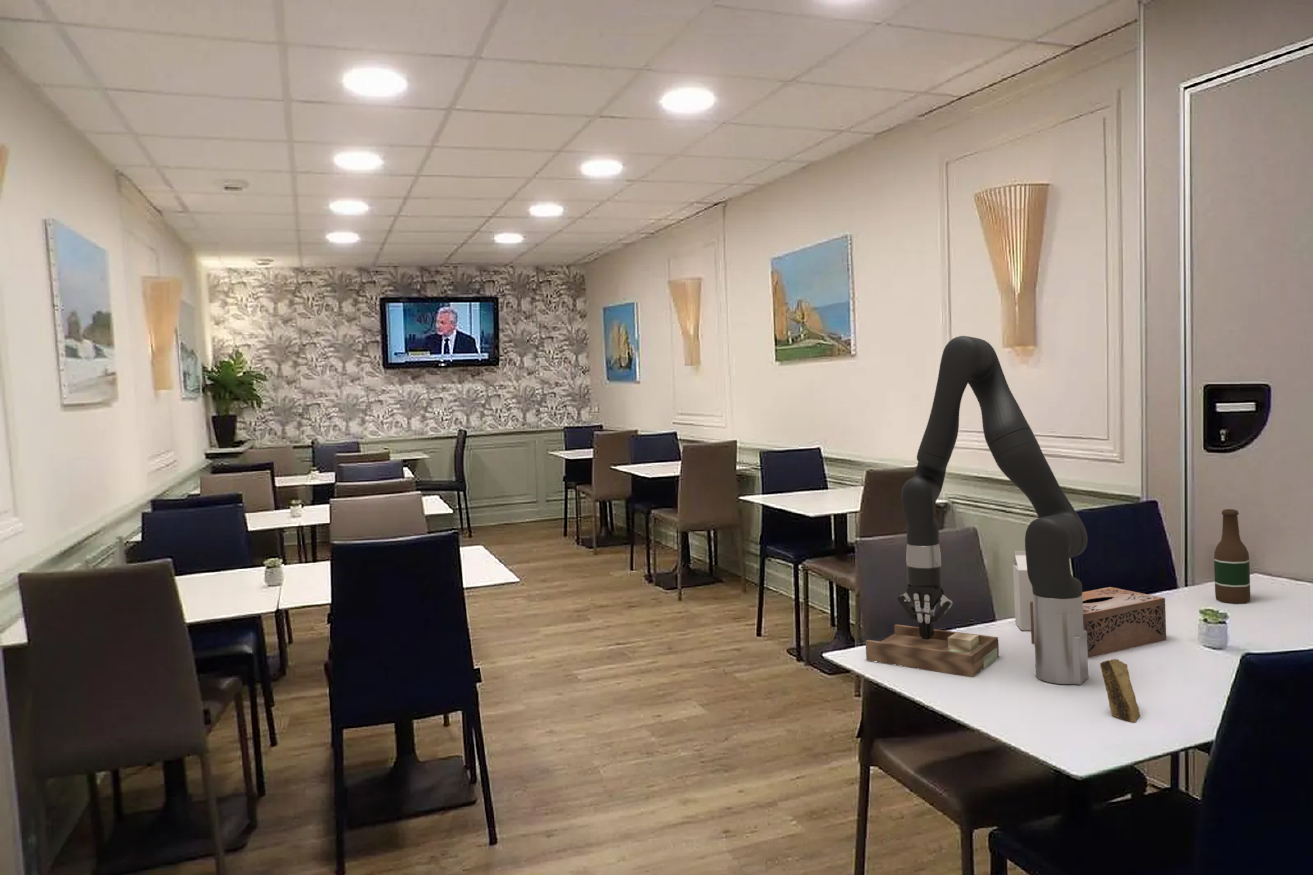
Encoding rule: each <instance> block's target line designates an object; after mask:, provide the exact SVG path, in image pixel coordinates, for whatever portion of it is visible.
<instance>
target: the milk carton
mask: <svg viewBox="0 0 1313 875" xmlns="http://www.w3.org/2000/svg"><path fill="white" fill-rule="evenodd" d="M1012 570H1013V571H1012V572H1013V573H1012V574H1013V575H1012V576H1013V595H1014V596H1013V597H1014V598H1013V599H1014V619H1016V620H1014V622H1016V623H1015V624H1016V625H1017V627H1018V628H1019V629H1020V630H1021V631H1031V615H1030V602H1033V590H1032V585H1031V583H1030V580H1029V578H1028V573H1027V563H1026V552H1025V550H1014V557H1013V563H1012Z"/></svg>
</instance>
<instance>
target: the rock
mask: <svg viewBox="0 0 1313 875" xmlns="http://www.w3.org/2000/svg"><path fill="white" fill-rule="evenodd" d="M1099 666H1100V669H1101V674H1102V678H1103V682H1104V686H1105V690H1106V693H1107V700H1108V705H1109V709H1110V713H1111V715H1112V717H1115V718H1117V719H1120V720H1122V721H1125V722H1130V723H1134V724H1135V723H1137V719H1138V718H1139V717H1140V716H1141V714H1140V707H1139V705H1138V703H1137V699H1136V694H1135V692H1134V689H1133V685H1132V682H1131V680H1130V678H1131V677H1130V673H1129V669H1128V664H1127V663H1124V662H1123V661H1120V660H1119V659H1117V658H1112V659H1108V660H1105V661H1102V662H1099Z"/></svg>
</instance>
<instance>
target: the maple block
mask: <svg viewBox="0 0 1313 875" xmlns="http://www.w3.org/2000/svg"><path fill="white" fill-rule="evenodd" d="M955 632H956V633H954V634H953V635H951V636H950V637H948V649H952V650H960V651H967V652H971V651H973V650H974V649H976V648H977V647H979V637H978V635H979V634H977V635H973V634H974V633H969V634H965V633H966V632H961V633H957V632H958V631H955Z"/></svg>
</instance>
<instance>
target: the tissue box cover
mask: <svg viewBox="0 0 1313 875" xmlns="http://www.w3.org/2000/svg"><path fill="white" fill-rule="evenodd" d="M1082 600H1083V626H1084V630H1086V631H1087V650H1088V659H1091V658H1094V657H1098V656H1102V655H1103V656H1104V655H1107V654H1111V653H1116V652H1120V651H1126V650H1129V649H1130V650H1131V649H1133V648H1138V647H1144V646H1148V645H1152V644H1155V643H1161V642H1164V641H1167V620H1166V612H1167V611H1166V597H1162V596H1156V595H1153V594H1147V593H1142V592H1137V591H1132V590H1128V589H1127V590H1126V589H1121V588H1118V587H1111V586H1109V587H1103V588H1098V589H1092V590H1085V591H1082ZM1030 615H1031V630H1030V634H1031V636H1030V637H1031V640H1030V641H1031V644H1032V645H1035V641H1034V616H1033V602H1030Z"/></svg>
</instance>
